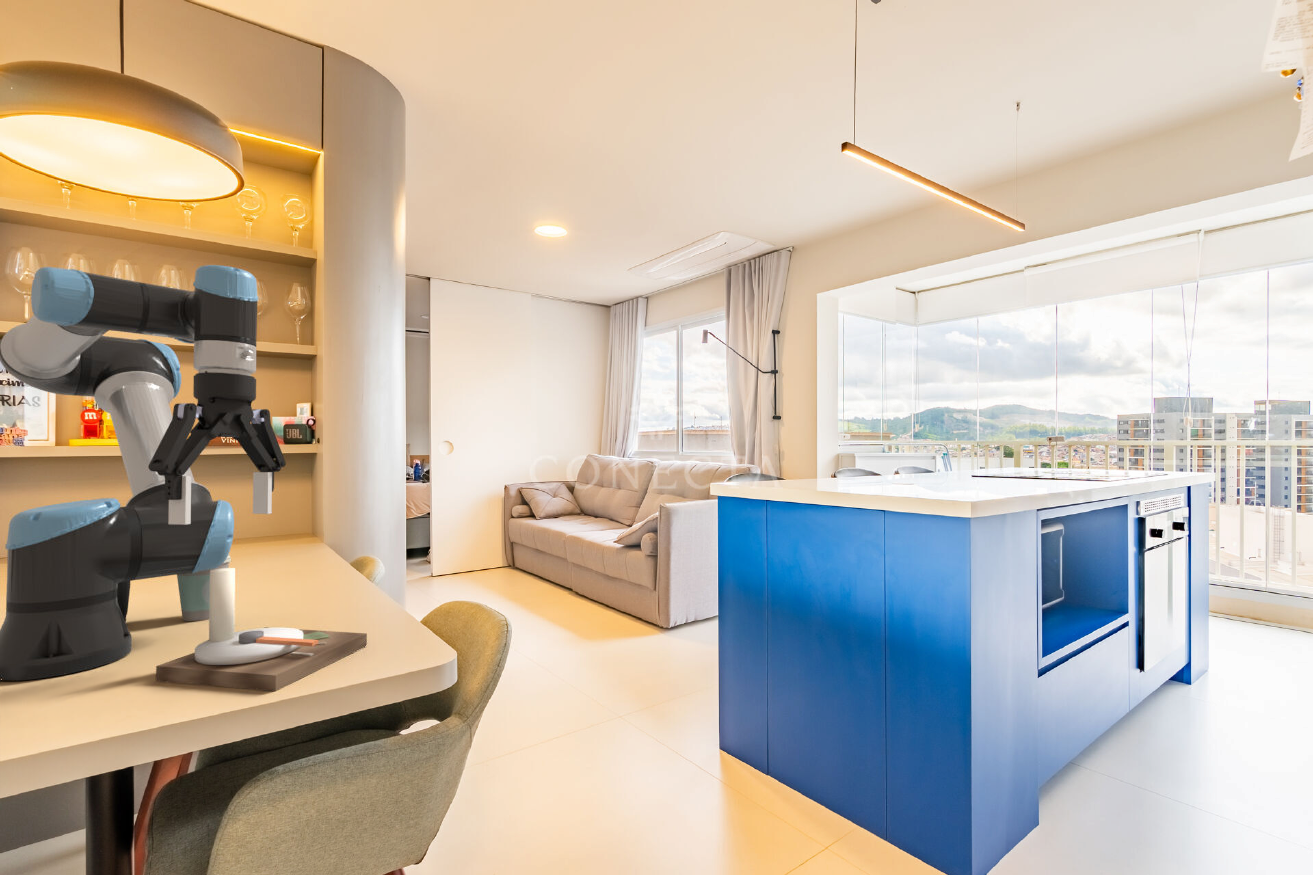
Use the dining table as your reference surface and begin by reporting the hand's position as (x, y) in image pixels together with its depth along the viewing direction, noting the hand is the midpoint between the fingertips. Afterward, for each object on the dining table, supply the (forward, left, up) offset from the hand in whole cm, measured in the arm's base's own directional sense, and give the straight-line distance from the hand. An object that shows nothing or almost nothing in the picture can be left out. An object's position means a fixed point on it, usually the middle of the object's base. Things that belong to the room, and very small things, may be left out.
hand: (223, 518), depth 88 cm
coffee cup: (-25, +20, -21) cm, 39 cm away
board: (+7, +2, -21) cm, 22 cm away
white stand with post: (+7, 0, -19) cm, 20 cm away
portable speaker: (-37, +11, -21) cm, 44 cm away
